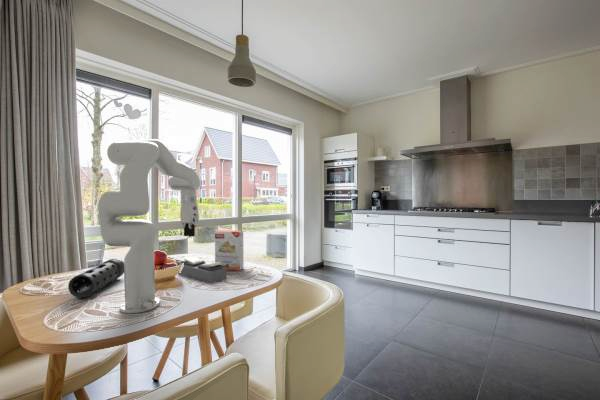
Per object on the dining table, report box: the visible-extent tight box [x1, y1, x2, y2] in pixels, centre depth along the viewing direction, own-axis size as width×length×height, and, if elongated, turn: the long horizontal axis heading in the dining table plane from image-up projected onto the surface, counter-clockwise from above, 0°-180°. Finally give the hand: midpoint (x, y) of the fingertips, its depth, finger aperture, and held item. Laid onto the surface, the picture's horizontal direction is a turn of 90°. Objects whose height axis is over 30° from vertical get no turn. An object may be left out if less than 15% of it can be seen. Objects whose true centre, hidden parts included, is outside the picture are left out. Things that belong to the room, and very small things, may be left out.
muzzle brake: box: [68, 258, 124, 300], centre depth 122 cm, size 10×28×10 cm, turn 9°
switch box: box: [179, 260, 227, 284], centre depth 140 cm, size 26×9×6 cm, turn 55°
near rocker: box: [201, 261, 220, 268], centre depth 136 cm, size 8×5×2 cm, turn 55°
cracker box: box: [214, 229, 244, 272], centre depth 151 cm, size 14×6×21 cm, turn 81°
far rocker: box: [183, 256, 203, 264], centre depth 144 cm, size 8×5×2 cm, turn 55°
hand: (189, 235), depth 145 cm, fingers open, 3 cm apart
